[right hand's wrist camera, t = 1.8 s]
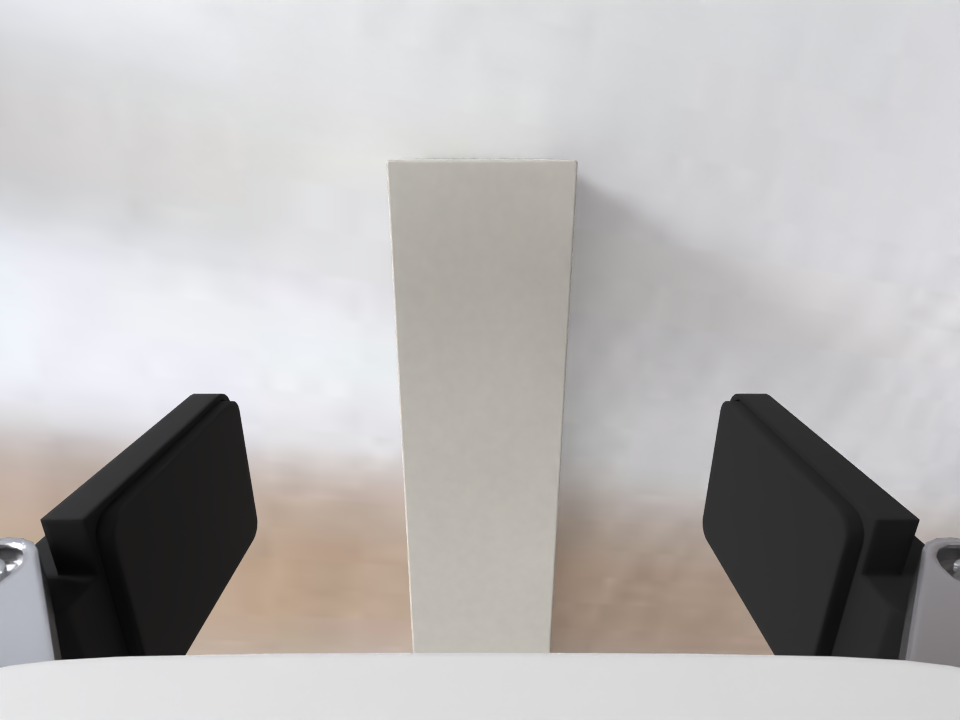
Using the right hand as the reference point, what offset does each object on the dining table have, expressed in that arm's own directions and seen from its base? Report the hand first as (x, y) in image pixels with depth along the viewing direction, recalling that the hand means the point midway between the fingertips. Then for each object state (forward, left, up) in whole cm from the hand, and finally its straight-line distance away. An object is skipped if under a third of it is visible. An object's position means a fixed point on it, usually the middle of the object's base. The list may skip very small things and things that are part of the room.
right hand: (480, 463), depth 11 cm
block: (+22, +10, -15) cm, 28 cm away
